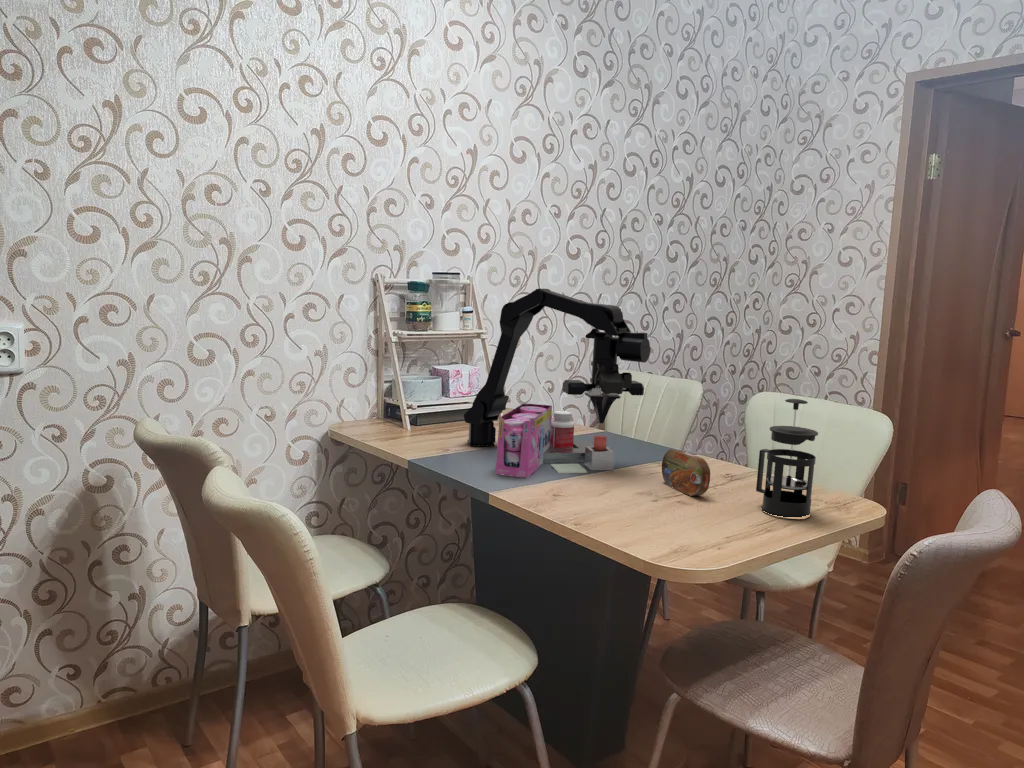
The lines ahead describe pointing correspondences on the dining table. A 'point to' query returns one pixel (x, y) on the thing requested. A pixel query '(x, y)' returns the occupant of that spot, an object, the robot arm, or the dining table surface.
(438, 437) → the dining table surface
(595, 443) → the button
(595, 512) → the dining table surface
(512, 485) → the dining table surface
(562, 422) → the pill bottle
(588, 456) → the housing
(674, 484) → the tin
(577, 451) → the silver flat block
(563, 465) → the pad
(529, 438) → the gum box
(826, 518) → the dining table surface
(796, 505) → the french press
